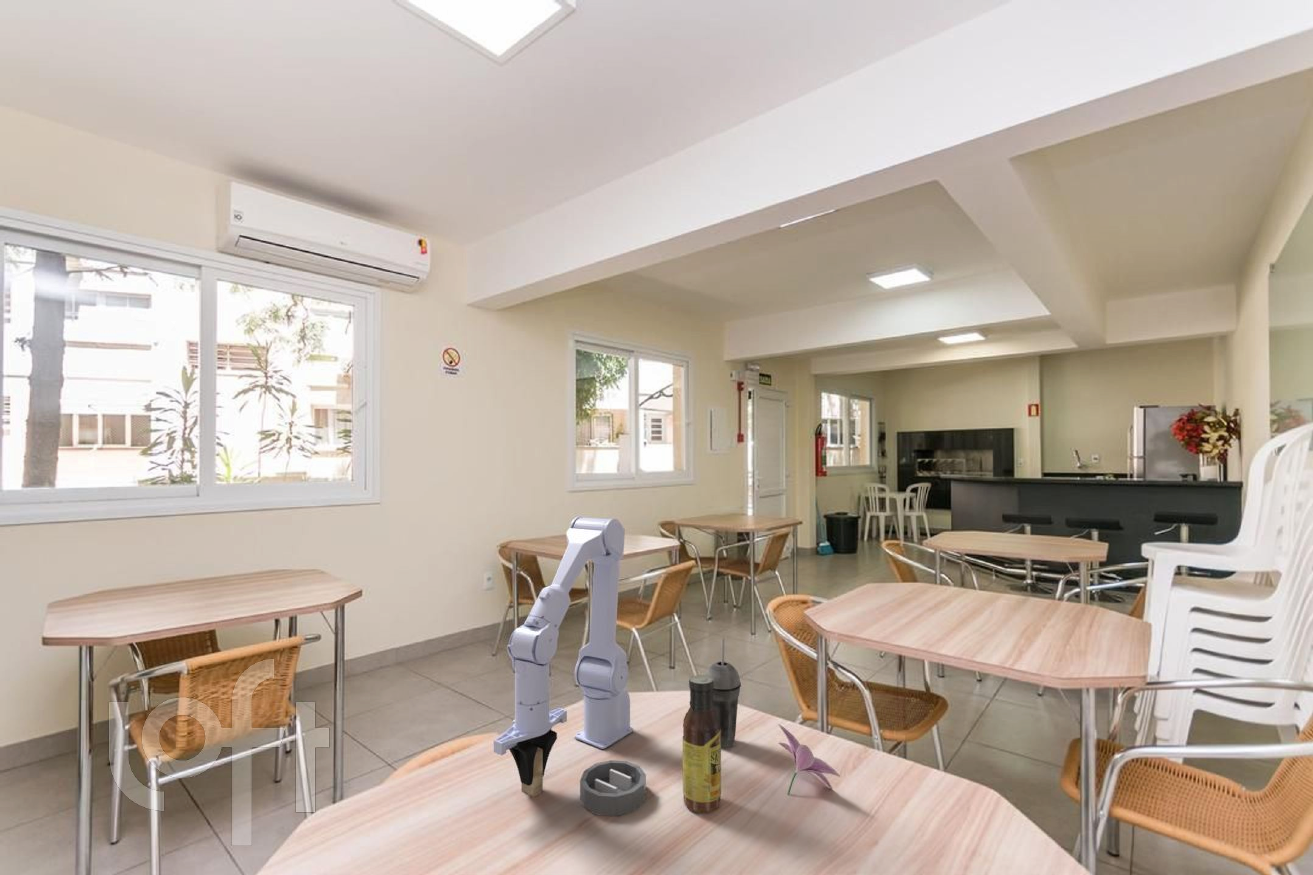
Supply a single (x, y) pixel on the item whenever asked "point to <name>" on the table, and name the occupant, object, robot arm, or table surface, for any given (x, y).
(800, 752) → the lily
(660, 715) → the table surface
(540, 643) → the robot arm
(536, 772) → the wooden jenga block
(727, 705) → the beverage cup
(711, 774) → the sauce bottle
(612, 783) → the grey round bowl
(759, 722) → the table surface
